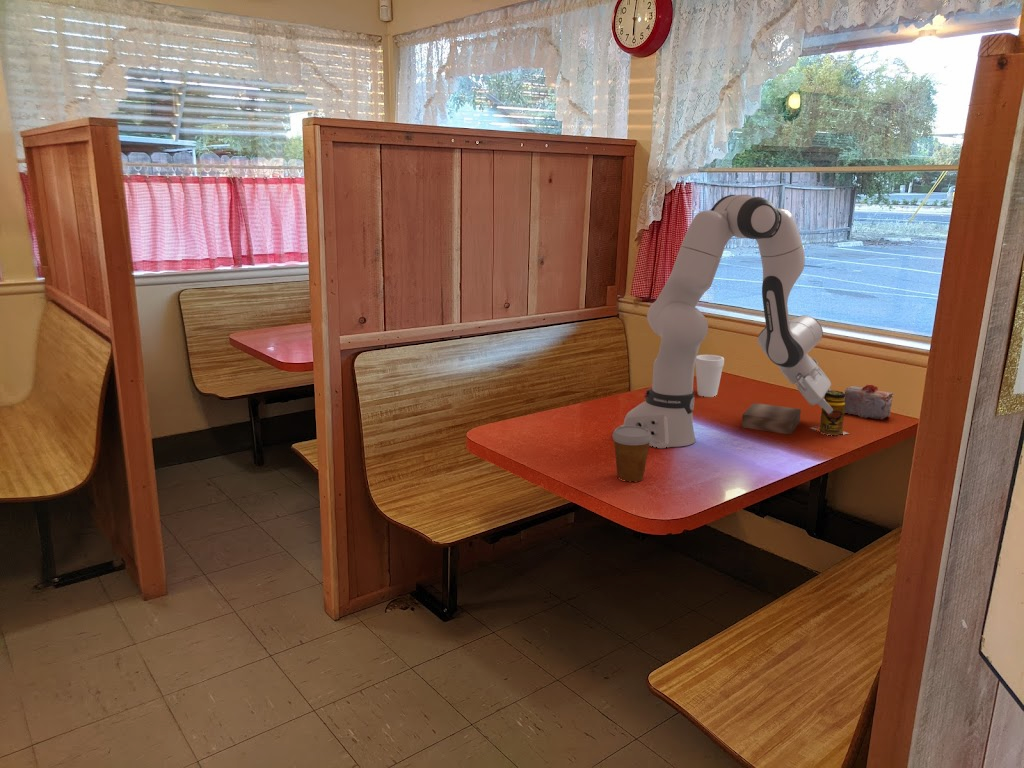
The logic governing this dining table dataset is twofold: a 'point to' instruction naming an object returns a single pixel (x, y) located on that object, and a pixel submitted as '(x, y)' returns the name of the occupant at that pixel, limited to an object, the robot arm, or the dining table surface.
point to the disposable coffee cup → (631, 451)
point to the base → (771, 418)
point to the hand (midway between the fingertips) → (833, 407)
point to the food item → (868, 402)
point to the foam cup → (708, 374)
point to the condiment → (833, 414)
